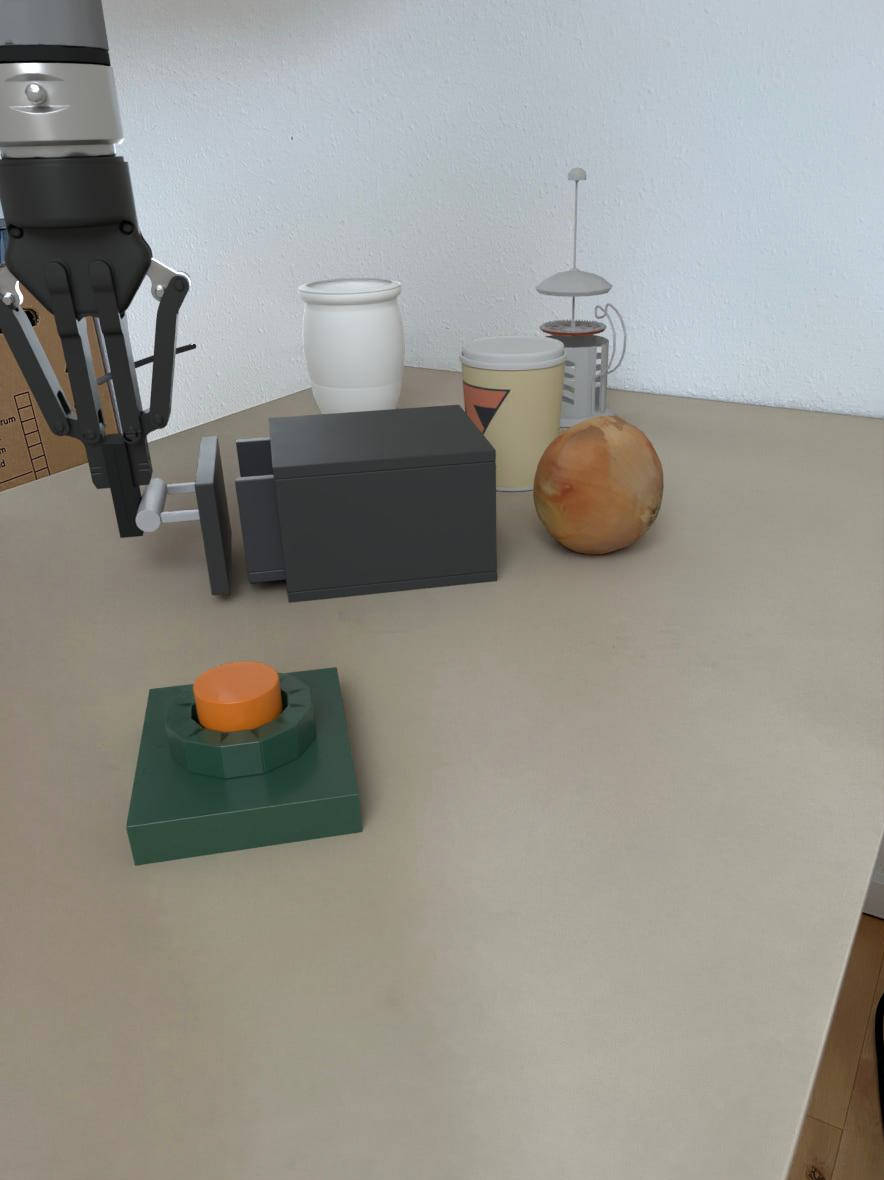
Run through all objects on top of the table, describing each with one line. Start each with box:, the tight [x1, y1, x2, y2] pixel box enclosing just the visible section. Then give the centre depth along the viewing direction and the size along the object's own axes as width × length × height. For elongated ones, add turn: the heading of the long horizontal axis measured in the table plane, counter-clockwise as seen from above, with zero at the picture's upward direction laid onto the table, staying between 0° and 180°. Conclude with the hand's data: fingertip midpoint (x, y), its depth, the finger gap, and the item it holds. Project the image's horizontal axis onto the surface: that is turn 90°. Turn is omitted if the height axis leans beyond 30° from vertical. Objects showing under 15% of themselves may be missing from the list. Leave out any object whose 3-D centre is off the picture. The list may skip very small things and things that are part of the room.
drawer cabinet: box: [267, 404, 498, 604], centre depth 71 cm, size 15×13×10 cm
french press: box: [535, 166, 627, 428], centre depth 102 cm, size 10×12×25 cm
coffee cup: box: [458, 334, 567, 492], centre depth 87 cm, size 9×9×12 cm
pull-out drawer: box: [136, 435, 286, 596], centre depth 69 cm, size 18×11×8 cm, turn 102°
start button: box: [193, 660, 283, 732], centre depth 47 cm, size 4×4×2 cm
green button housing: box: [125, 666, 363, 867], centre depth 48 cm, size 12×10×4 cm
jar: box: [296, 277, 406, 414], centre depth 101 cm, size 11×10×15 cm
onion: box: [532, 415, 665, 556], centre depth 72 cm, size 10×10×10 cm
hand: (133, 529), depth 68 cm, fingers closed
